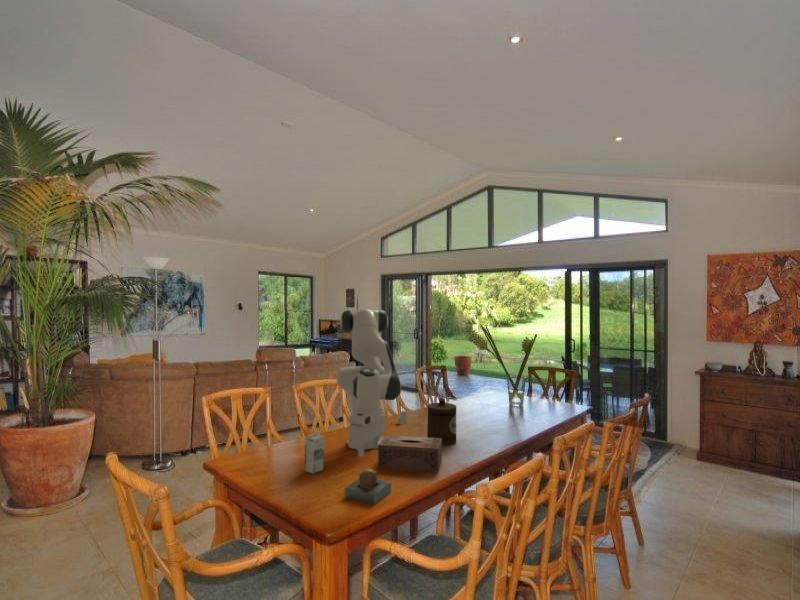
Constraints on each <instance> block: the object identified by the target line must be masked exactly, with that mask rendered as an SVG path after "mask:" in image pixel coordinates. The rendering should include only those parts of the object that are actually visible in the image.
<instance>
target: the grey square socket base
mask: <svg viewBox="0 0 800 600" xmlns="http://www.w3.org/2000/svg"><path fill="white" fill-rule="evenodd" d="M391 492H392V482H391V481H387V480H382V479H378V478H377V486H376V487H374V488H373V489H372V490H370V489H366V488H361V487H360V477H359V478H358V479H356V480H355V481H353V482H352V483H350V484H349V485H347V486H345V487H344V498H345V499H349V500H352V501H353V500H354V501H355V502H356V501H357V502H362V503H365V504H368V505H372V506H375V505H376V504H377V503H378V502H380V501H381V500H382V499H384V498H385V497H387V496H388V495H389V494H390V493H391Z"/></svg>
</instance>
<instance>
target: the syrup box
mask: <svg viewBox="0 0 800 600" xmlns="http://www.w3.org/2000/svg"><path fill="white" fill-rule="evenodd" d="M304 439H305V441H304V442H305V446H304V471H305V472H308V473H310V474H316V473H319V472H322V471H324V470H325V436H324V435H322V434H320V433H313V434H311V435H307V436H305V438H304Z"/></svg>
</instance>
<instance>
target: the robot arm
mask: <svg viewBox="0 0 800 600" xmlns="http://www.w3.org/2000/svg"><path fill="white" fill-rule="evenodd" d="M339 325H340V328H341V330H342V331H343V332H344V333H348V334H352V335H351V356H352V358H353V359H354V360H356V361H357V362H359V363H361V364H363V365H362V366H360V365H359V366H357V365H356V366H345V367H341V368H340V369H339V370H338V371H337V373H336V377H335V379H336V382H337V383H336V384H338V385H337V386H339V388H340V389H343V391H344V392H345V393H346V394H347V396H348V397H349V400H350V408H351V409H350V410H351V415H350V416H349V417H348V424H349V426H348V434H347V435H348V436H347V440H346V442H345V443H346V444H347V447H348V448H350V449H353V450H357V455H358V457H364V456H365V455H366V453H365V451H366V450H373V449H375V450H376V449H377V450H378V444H379V443H380V442H381V440H382V439H383V438H384V437H385V435H384V434H385V432H386V429H387V426H386V425H387V424H386V423H387V422H386V417H385V414H384V410H383V409H382V408H381V407H382V405H381V402H380V401H381V400H386V401H395V400H396V399H397V398H398V397H399V396H400V395H401V391H402V384H401V380H400V377H399V375H398V372H397V369H396V366H395V362H394V358H393V355H392V352H391V349H390V347H389V344H388V341H386V340H384V339H383V338H382V337H381V335H380V333H383V332H385V331H386V330H387V328H388V326H389V316H388V314H387V312H386V311H385V310H382V309H371V308H370V309H369V308H364V309H363V308H362V309H354V310H353V309H352V310H351V309H347V310H345V311H343V312H342V313H341V315H340V319H339ZM378 359H380V361H381V362H382V364H380V362H379V361H378Z"/></svg>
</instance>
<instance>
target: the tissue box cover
mask: <svg viewBox="0 0 800 600" xmlns="http://www.w3.org/2000/svg"><path fill="white" fill-rule="evenodd" d="M377 451H378V452H377V468H378V469H389V470H390V469H391V470H401V471H402V470H405V471H417V472H429V473H439V471H440V469H441V468H440V467H441V465H442V462H443V456H442V455H443V452H442V451H443V446H442V438H428V437H426V436H422V437H421V436H411V435H410V436H408V435H396V434H395V435H394V434H385V435H384V438H383V439H382V440H381V442H380V443H379V444H378V448H377Z"/></svg>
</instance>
